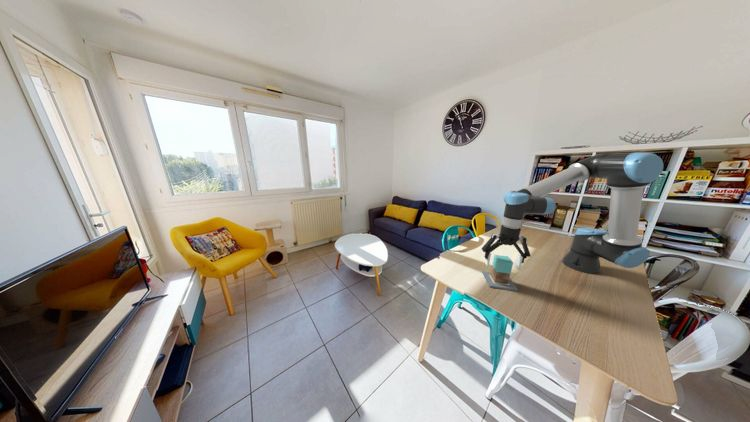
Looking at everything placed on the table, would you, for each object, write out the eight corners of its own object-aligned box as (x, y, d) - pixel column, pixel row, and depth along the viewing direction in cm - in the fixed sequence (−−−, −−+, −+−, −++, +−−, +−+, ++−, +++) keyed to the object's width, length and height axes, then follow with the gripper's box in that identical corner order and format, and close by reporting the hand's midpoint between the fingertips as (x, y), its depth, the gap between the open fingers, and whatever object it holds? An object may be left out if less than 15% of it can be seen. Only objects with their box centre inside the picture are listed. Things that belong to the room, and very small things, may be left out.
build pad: (506, 276, 101) (507, 274, 100) (517, 291, 90) (518, 289, 89) (482, 272, 103) (482, 271, 103) (489, 287, 92) (490, 285, 92)
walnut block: (502, 276, 98) (505, 266, 97) (507, 284, 93) (510, 273, 91) (489, 275, 100) (492, 265, 98) (494, 282, 94) (496, 271, 92)
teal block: (505, 266, 97) (507, 256, 95) (510, 273, 91) (513, 262, 89) (492, 265, 98) (494, 254, 96) (496, 271, 92) (499, 260, 91)
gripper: (537, 225, 89) (526, 265, 95) (479, 221, 94) (472, 259, 100) (547, 231, 82) (535, 274, 88) (484, 226, 87) (476, 267, 93)
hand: (501, 266), depth 94 cm, fingers open, 13 cm apart
